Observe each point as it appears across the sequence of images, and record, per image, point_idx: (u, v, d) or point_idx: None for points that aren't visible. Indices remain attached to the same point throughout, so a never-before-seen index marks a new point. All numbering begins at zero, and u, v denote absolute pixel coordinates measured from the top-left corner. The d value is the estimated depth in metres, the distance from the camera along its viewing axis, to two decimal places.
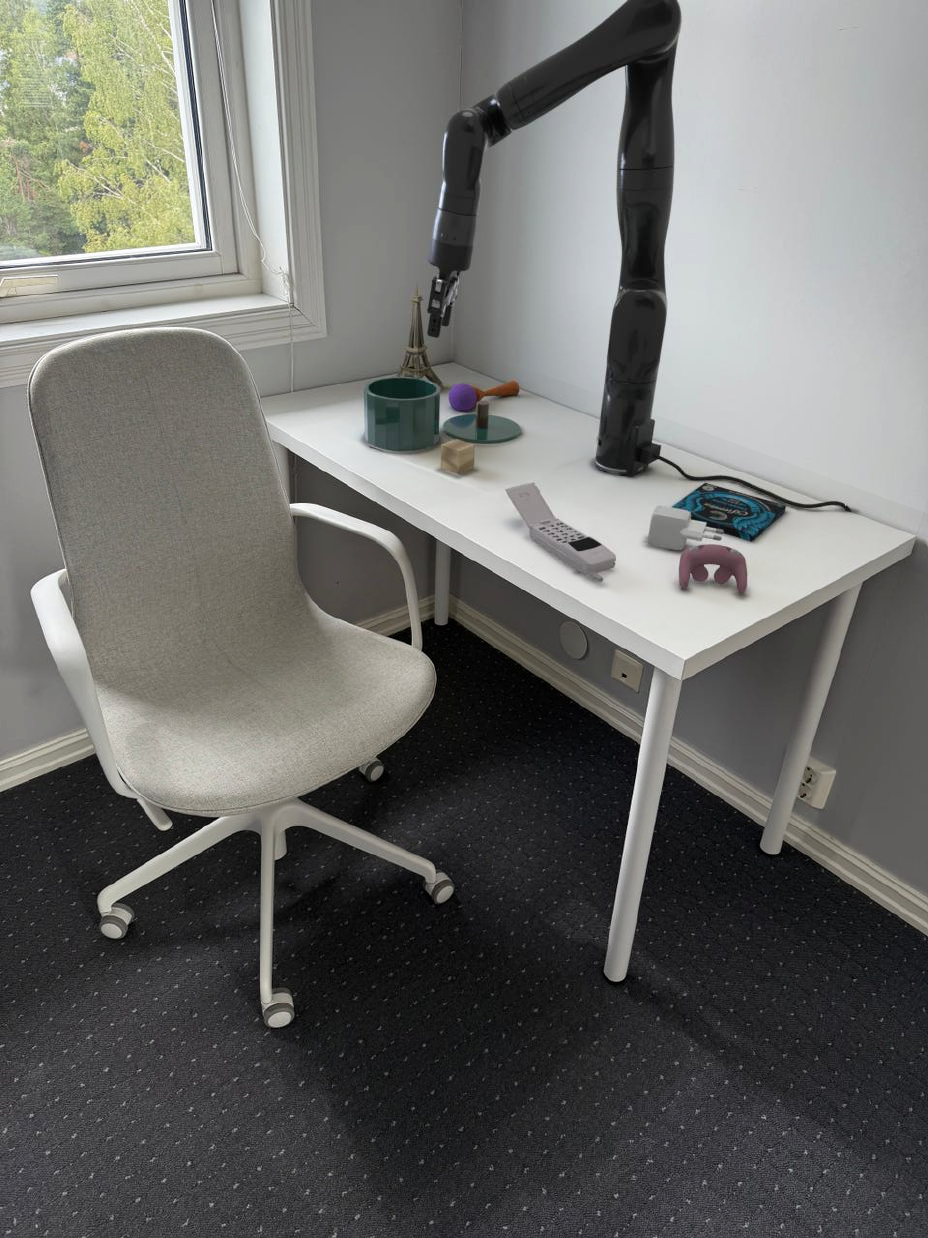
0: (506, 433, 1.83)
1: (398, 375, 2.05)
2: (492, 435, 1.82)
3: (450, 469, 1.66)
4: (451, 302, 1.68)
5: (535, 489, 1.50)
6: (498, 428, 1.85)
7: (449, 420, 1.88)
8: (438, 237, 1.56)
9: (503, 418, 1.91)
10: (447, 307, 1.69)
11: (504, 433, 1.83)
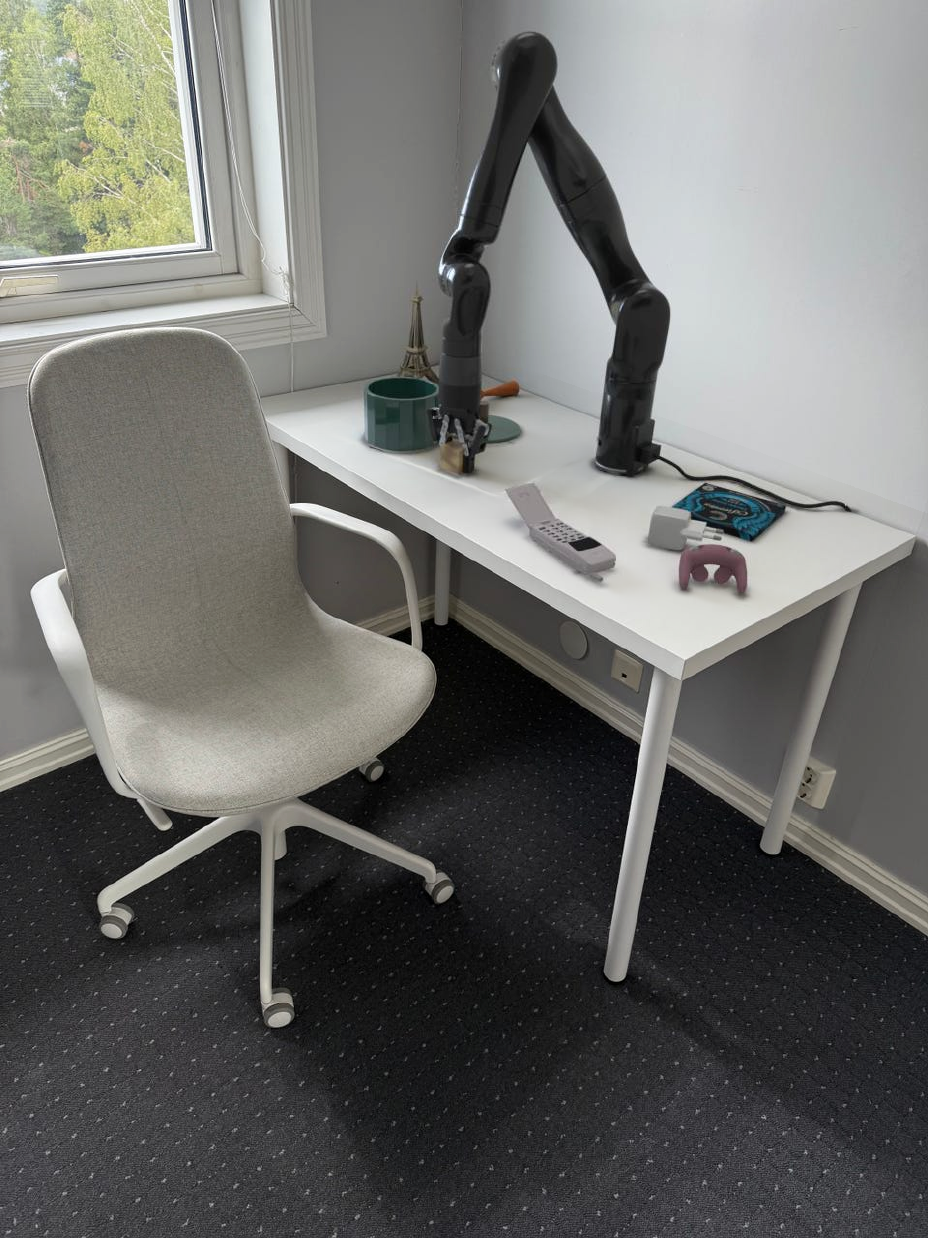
0: (506, 433, 1.83)
1: (398, 375, 2.05)
2: (492, 435, 1.82)
3: (450, 469, 1.66)
4: (451, 440, 1.68)
5: (535, 489, 1.50)
6: (498, 428, 1.85)
7: None
8: (466, 383, 1.56)
9: (503, 418, 1.91)
10: None
11: (504, 433, 1.83)
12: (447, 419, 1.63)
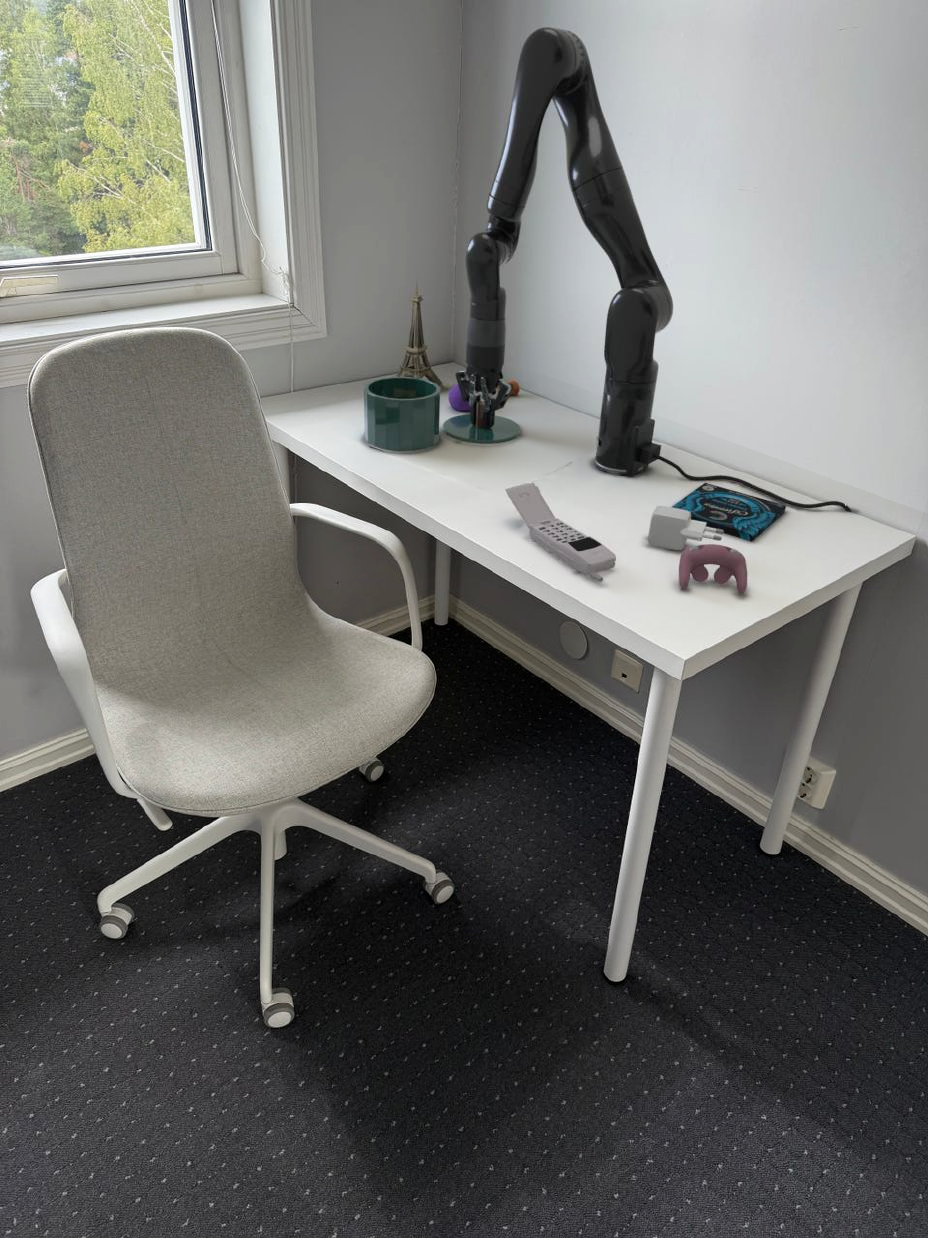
0: (506, 433, 1.83)
1: (398, 375, 2.05)
2: (492, 435, 1.82)
3: None
4: (480, 400, 1.85)
5: (535, 489, 1.50)
6: (498, 428, 1.85)
7: (449, 420, 1.88)
8: (492, 344, 1.74)
9: (503, 418, 1.91)
10: None
11: (504, 433, 1.83)
12: (474, 378, 1.80)
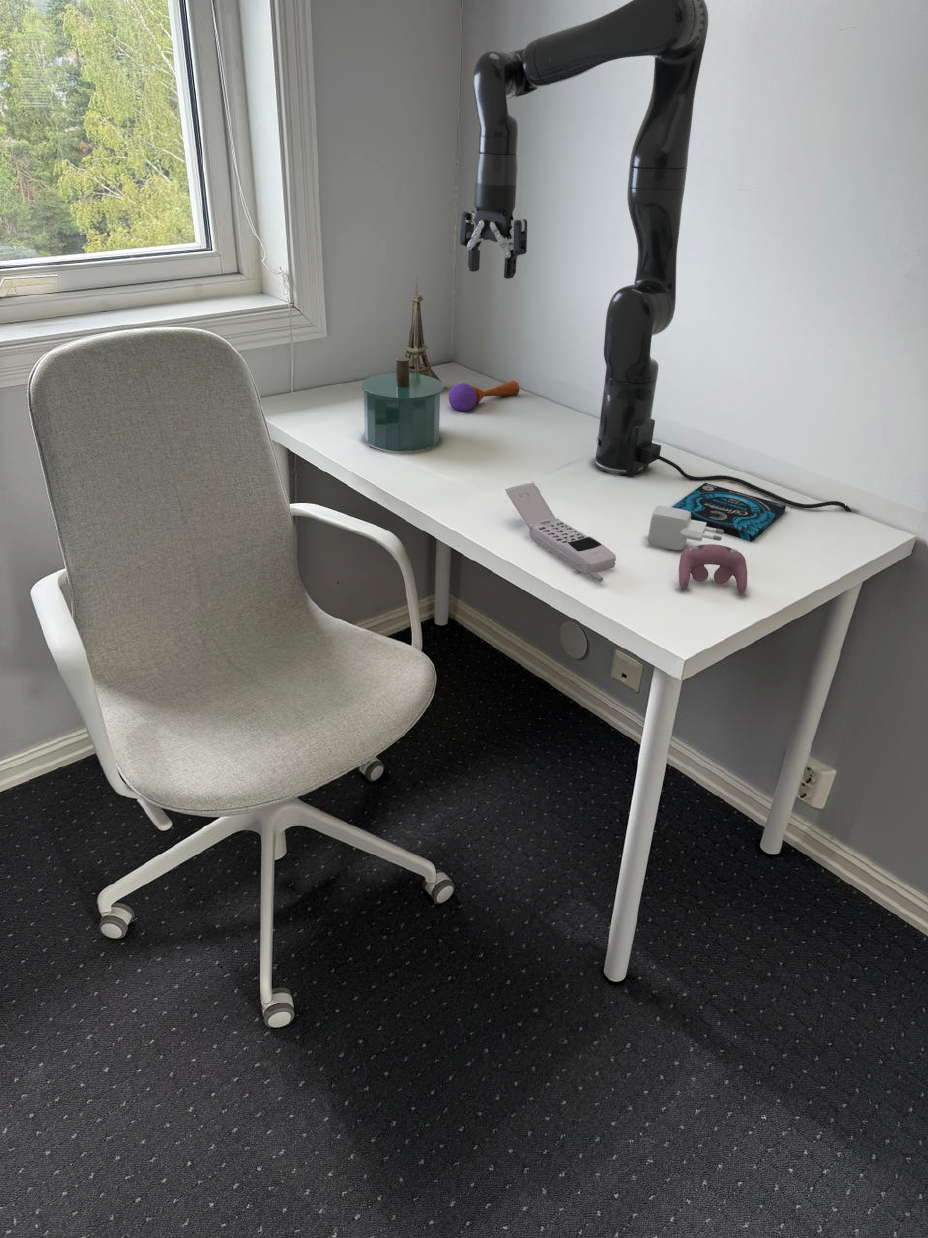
0: (427, 391, 1.72)
1: None
2: (412, 393, 1.71)
3: None
4: (479, 245, 1.74)
5: (535, 489, 1.50)
6: (420, 386, 1.75)
7: (369, 378, 1.78)
8: (503, 182, 1.62)
9: (428, 377, 1.80)
10: (477, 252, 1.74)
11: (425, 391, 1.72)
12: (482, 224, 1.68)
